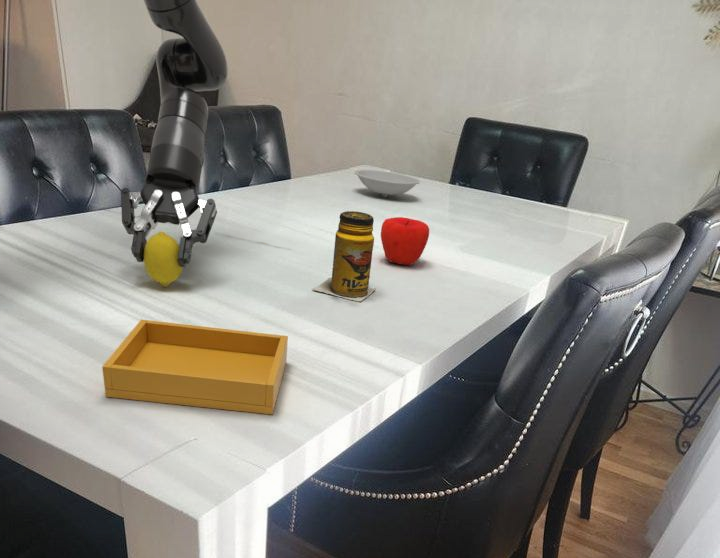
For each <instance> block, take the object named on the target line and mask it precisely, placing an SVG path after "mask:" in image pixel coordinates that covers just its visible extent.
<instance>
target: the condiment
mask: <svg viewBox="0 0 720 558" xmlns="http://www.w3.org/2000/svg"><path fill="white" fill-rule="evenodd" d="M374 219H375V218H374V217H373V215H371V214H369V213H367V212H362V211H356V210H355V211H354V210H352V211H351V210H347V211H343V212H341V213H340V214H339V222H338V225H337V230H336V232H335V236H334V247H333V258H332V259H333V260H332V271H331V277H328V278H327V279H325V281H323V282H322V283H320V284H319V285H317V286H315V287H314V288H312V289H311V291H316V292H319V293H324V294H327V295H328V294H329V295H332V296H335V297H338V298H343V299H347V300H350V301H355V302H362V301H363V300H365V299H366V298H368V297H369V296H370V295H371V294H372V293H373V292H374V291H375V290H377V288H374V287H369V286H370V278H371V275H370V274H371V269H372V259H373V251H374V245H375V236H374V234H373V231H374V223H375V222H374Z"/></svg>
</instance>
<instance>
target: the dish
mask: <svg viewBox="0 0 720 558" xmlns="http://www.w3.org/2000/svg"><path fill="white" fill-rule="evenodd" d="M354 175H356V176H357V177H358V180H359V181H360V182H361V183H362V184H363V186H364V187H365V188H367V189H368V190H370V191H371V192H372V191H373V192H374V193H378V194H380V195H381V197H383V198H388V197H389V196H397V195H398V196H399V195H404V194H405V193H408V192H409V191H410V190H412V189H413V188H414V187H416V185H418V184H420V182H421V181H420V180H419V179H418V178H415V177H412V176H409V175H406V174H401V173H396V172H391V171H384V170H375V169H358V170H355V171H354Z"/></svg>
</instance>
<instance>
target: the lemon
mask: <svg viewBox="0 0 720 558" xmlns="http://www.w3.org/2000/svg"><path fill="white" fill-rule="evenodd" d="M179 246H180V244H179V243H178V242H177V240H176V239H175V238H173V237H172V236H171V235H169V234H166V233H165V231H158V232H157V233H156V234H154V235H151V237H149V238H148V239H147V242H146V245H145V248H144V260H143V266H144V268H145V271H146V273H147V274H148V276H149V277H150V278H151V280H153V281H155V282H157V283H159V284H160V285H161V286H162V287H165V288H166V287H169V285H170V284H171V283H173V282H175V281H177V279H178V278H179V277H180V276H181V274H182V271H183V267H180V266H179V264H178V253H179Z"/></svg>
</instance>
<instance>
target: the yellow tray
mask: <svg viewBox="0 0 720 558" xmlns="http://www.w3.org/2000/svg"><path fill="white" fill-rule="evenodd" d="M288 339H289V335H283V334H282V335H280V334H271V333H264V332H263V333H262V332H253V331H247V330H246V331H245V330H237V329H228V328H219V327H211V326H202V325H193V324H183V323H175V322H167V321H157V320H149V319H140V320H139V321H138V323H137V324H136V325H135V326H134V327H133V329H131V331H130V332H129V333H128V335H127V336H126V337H125V338H124V339H123V341H122V342H121V343H120V344H119V345H118V347H116V349H115V350H114V352H113V353H112V354H111V355H110V356H109V358H108V359H107V360H106V361H105V363H104V364H102V367H101V369H102V376H103V377H102V378H103V384H104V392H105V397H107V398H115V399H123V400H132V401H140V402H141V401H142V402H152V403H161V404H171V405H179V406H189V407H199V408H207V409H215V410H216V409H217V410H225V411H226V410H227V411H236V412H243V413H244V412H245V413H254V414H262V415H274V410H275V406H276V403H277V399H278V396H279V392H280V389H281V384H282V381H283V376H284V373H285V368H286V365H287V360H288V359H287V355H288V341H289V340H288Z"/></svg>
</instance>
